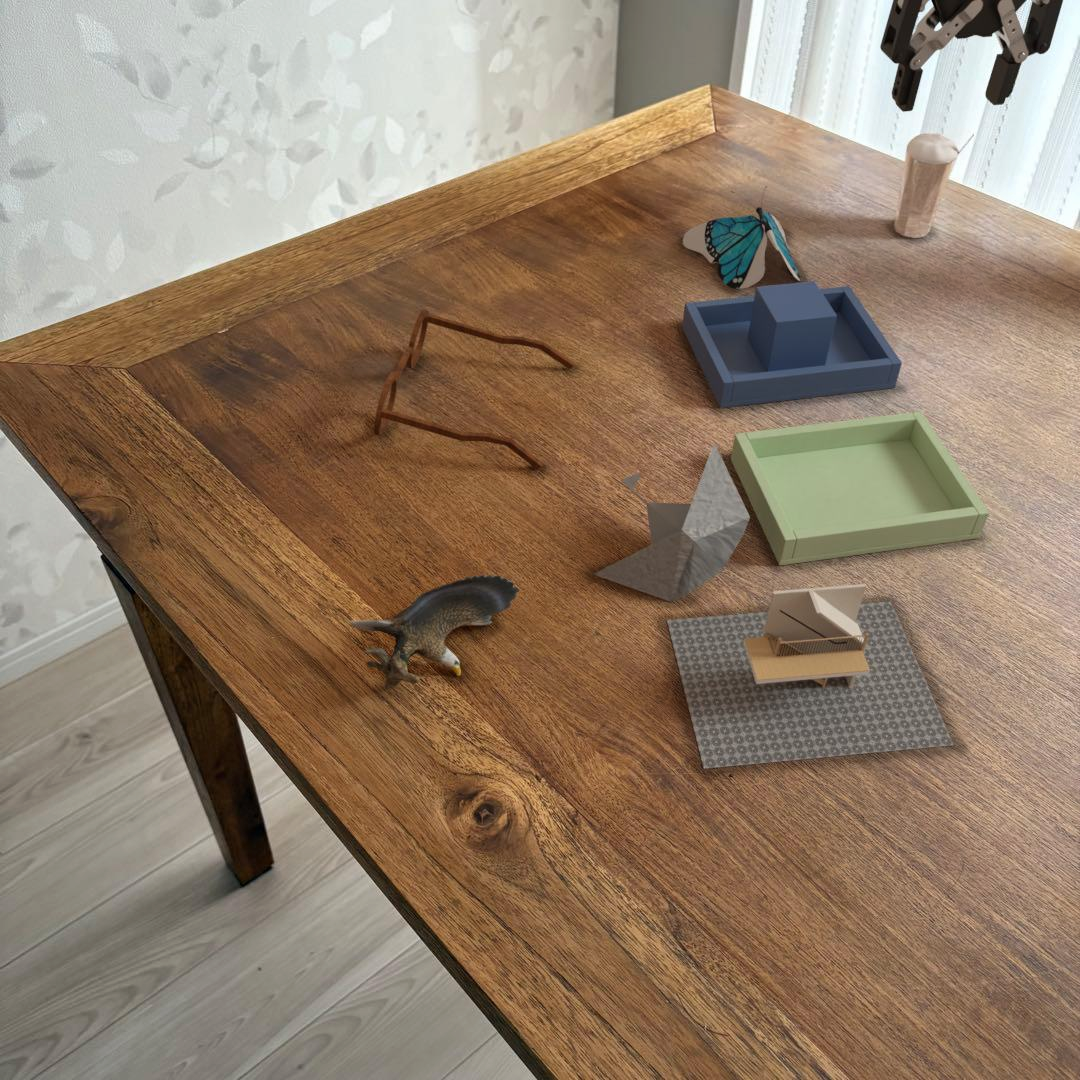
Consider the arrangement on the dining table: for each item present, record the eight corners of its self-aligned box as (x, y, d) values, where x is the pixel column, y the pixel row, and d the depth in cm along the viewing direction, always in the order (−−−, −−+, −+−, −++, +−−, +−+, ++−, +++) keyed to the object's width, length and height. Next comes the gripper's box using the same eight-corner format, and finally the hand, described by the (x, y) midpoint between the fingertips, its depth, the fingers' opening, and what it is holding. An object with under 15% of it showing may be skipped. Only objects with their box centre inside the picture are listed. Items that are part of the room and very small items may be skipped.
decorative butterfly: (728, 266, 94) (693, 184, 99) (713, 317, 100) (680, 237, 105) (838, 251, 96) (798, 171, 101) (817, 302, 101) (780, 224, 106)
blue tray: (843, 310, 97) (849, 285, 95) (895, 388, 89) (902, 362, 87) (681, 327, 95) (684, 302, 93) (719, 408, 87) (723, 383, 85)
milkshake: (941, 247, 104) (971, 145, 97) (883, 237, 105) (909, 135, 98) (946, 224, 107) (976, 123, 100) (890, 214, 108) (915, 114, 101)
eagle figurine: (455, 727, 65) (545, 616, 68) (382, 645, 61) (481, 532, 65) (388, 707, 71) (474, 605, 74) (319, 630, 67) (412, 528, 71)
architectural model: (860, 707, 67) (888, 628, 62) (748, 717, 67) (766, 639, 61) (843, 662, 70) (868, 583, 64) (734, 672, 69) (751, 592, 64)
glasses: (420, 348, 93) (416, 296, 89) (574, 367, 91) (576, 316, 87) (372, 449, 84) (365, 397, 80) (542, 473, 82) (542, 420, 78)
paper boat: (654, 632, 70) (551, 536, 72) (664, 641, 76) (569, 552, 78) (785, 492, 70) (677, 400, 72) (784, 512, 76) (685, 427, 78)
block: (804, 331, 94) (814, 280, 90) (825, 367, 90) (837, 315, 87) (747, 338, 93) (755, 286, 89) (766, 373, 89) (776, 321, 86)
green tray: (913, 436, 85) (921, 410, 83) (979, 538, 77) (990, 512, 75) (730, 459, 83) (734, 433, 81) (779, 565, 75) (785, 540, 74)
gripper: (942, -82, 82) (889, 130, 94) (1117, -91, 84) (1044, 118, 96) (900, -113, 87) (855, 91, 99) (1066, -120, 89) (1003, 81, 101)
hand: (948, 104), depth 97 cm, fingers open, 8 cm apart
